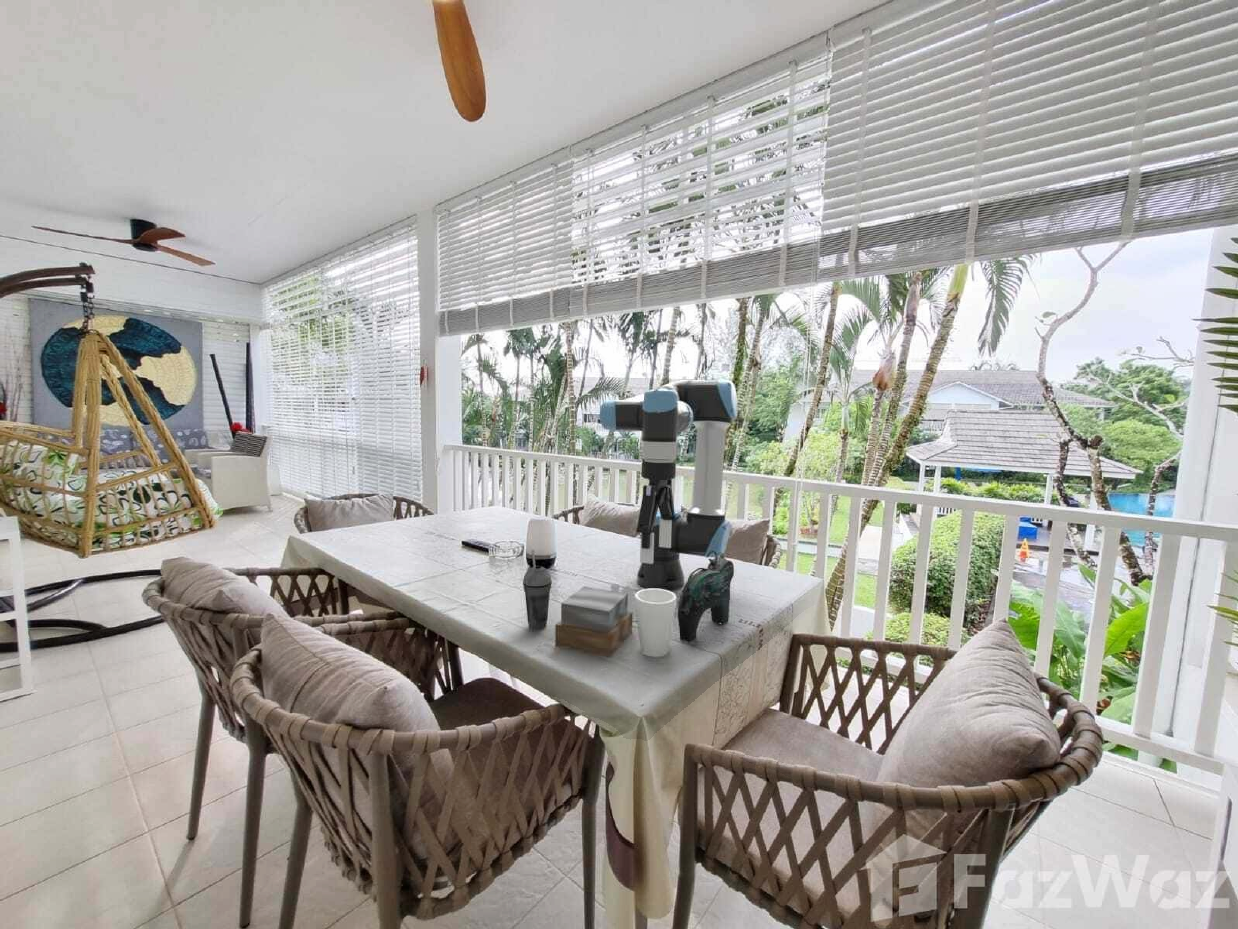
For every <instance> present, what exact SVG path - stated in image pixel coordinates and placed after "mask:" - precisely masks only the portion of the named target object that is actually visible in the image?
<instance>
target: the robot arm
mask: <svg viewBox="0 0 1238 929" xmlns="http://www.w3.org/2000/svg"><path fill="white" fill-rule="evenodd" d="M738 408H739V407H738V396H737V390H736V386H735V384H734V383H733V381H731V380H729V379H728V380H726V379H719V378H717V379H685V380H684V379H683V380H678V381H674V382H669V383H666V384H663V385H660V386H657V387H656V388H655V389H649V390H648V389H647V390H646V391H645V392H644V394H640V395H637V396H633V397H630V398H625V399H611V400H605V401H603V402H602V404H601V406H600V409H599V422H600V424H601V427H602V428H603V429H604V430H608V431H614V432H617V431H619V432H620V431H624V432H625V431H629V432H642V438H641V439H642V444H641V445H640V446H639V447H640V449H641V451H642V452H641V456H642V457H641V458H642V459H643V461H642V462H641V477H642V479H646V480H648V485H643V486H642V497H641V505H640V509H639V515H638V519H637V520H638V521H637V526H636V533H640V544H639V546H640V547H639V548H640V549H639V550H640V551H639V562H640V565H639V569H638V571H637V574H636V583H637V584H638V585H639V586H641V587H643V588H644V589H649V588H655V589H664V590H668V591H671V590H672V589H673V590H677V589H680V588H681V586H682V585H683V586H684V585H685V574H684V571H683V568H682V564H681V561H680V554H681V555H690V556H698V557H704V558H711V559H714V558H716V556H715V553H714V552H712V553H711V554H710V555H709V557H707V554H708V552H709V551H715V552H716V553H717V558H719V557H720V556H721V553H722V554H723V555H724V554H725V552H726V548H727V545H728V541H729V538H730V532H731V522H730V520H728V519H726V513H725V511H724V510H723V509H722V508H721V506H722V493H723V492H722V491H723V490H722V489H723V479H724V478H723V476H724V475H723V474H724V461H725V460H724V458H725V447H726V446H725V445H726V432H727V429H729V427H731V425H732V420H735V419H736V418H737V417H738V412H739V409H738ZM692 424H693V425H694V426H695V427H696V430H697V431H696V442H695V443H696V444H695V445H696V446H695V460H694V476H693V490H692V504H691V507H690V508H688V509H687V510H686V515H682V512H681V511H680V510H679V509H675V504H674V496H673V486H672V485H673V481H672V480H673V479H675V478H676V475H677V474H676V473H677V472H676V470H677V469H676V468H677V466H676V464H677V463H676V462H675V461H674V460H677V443H678V442H677V434H678V433H681V432H683V431H686V430H687V429H689V428H690V426H691V425H692ZM683 586H682V587H683ZM679 587H680V588H679Z"/></svg>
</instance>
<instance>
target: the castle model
mask: <svg viewBox="0 0 1238 929" xmlns="http://www.w3.org/2000/svg"><path fill="white" fill-rule="evenodd" d="M610 589H611V591H615V592H620V591H619V589H620V584H618V583H612V584H611V585H610ZM621 593H628V609H627V611H629V612H633V618H632V627H636V628H638V624H637V615H636V607H635V594H634V588H632V587H630V586H629V585H626V586H625V587H624V588H623V589H622V590H621Z"/></svg>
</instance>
